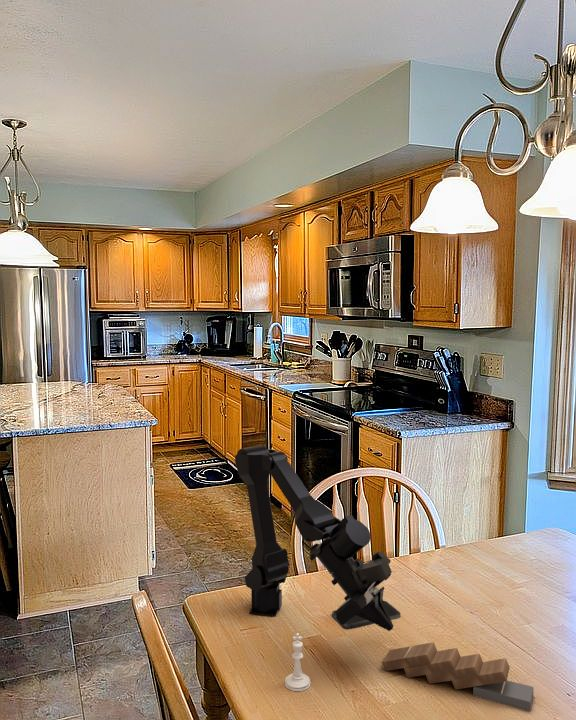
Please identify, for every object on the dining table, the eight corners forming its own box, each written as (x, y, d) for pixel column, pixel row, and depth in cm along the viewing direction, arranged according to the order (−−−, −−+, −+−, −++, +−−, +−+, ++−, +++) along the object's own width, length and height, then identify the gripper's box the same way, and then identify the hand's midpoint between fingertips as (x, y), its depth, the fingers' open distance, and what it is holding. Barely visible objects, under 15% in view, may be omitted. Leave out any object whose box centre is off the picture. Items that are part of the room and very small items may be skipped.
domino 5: (473, 687, 115) (530, 701, 111) (478, 673, 120) (533, 686, 115) (473, 696, 115) (530, 711, 111) (478, 682, 120) (533, 696, 115)
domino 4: (451, 680, 117) (502, 671, 113) (456, 666, 122) (505, 657, 117) (455, 689, 117) (506, 681, 113) (460, 675, 121) (509, 667, 117)
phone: (330, 611, 146) (384, 599, 152) (330, 616, 146) (384, 604, 152) (345, 627, 139) (402, 614, 145) (345, 632, 139) (402, 618, 145)
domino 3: (425, 674, 119) (474, 666, 115) (432, 661, 124) (479, 653, 119) (429, 683, 119) (478, 676, 115) (435, 670, 124) (483, 662, 119)
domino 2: (403, 668, 121) (450, 660, 117) (411, 656, 126) (456, 647, 121) (407, 677, 121) (454, 669, 116) (415, 664, 125) (460, 656, 121)
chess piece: (284, 676, 121) (283, 627, 121) (308, 675, 122) (308, 626, 121) (286, 692, 117) (285, 641, 116) (311, 690, 117) (311, 640, 116)
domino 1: (381, 661, 123) (426, 654, 119) (389, 649, 128) (433, 642, 123) (385, 671, 123) (430, 663, 119) (393, 658, 128) (437, 651, 123)
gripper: (350, 560, 118) (405, 629, 113) (382, 529, 134) (432, 589, 130) (312, 591, 122) (364, 659, 118) (348, 558, 138) (395, 616, 134)
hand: (391, 629), depth 125 cm, fingers closed
